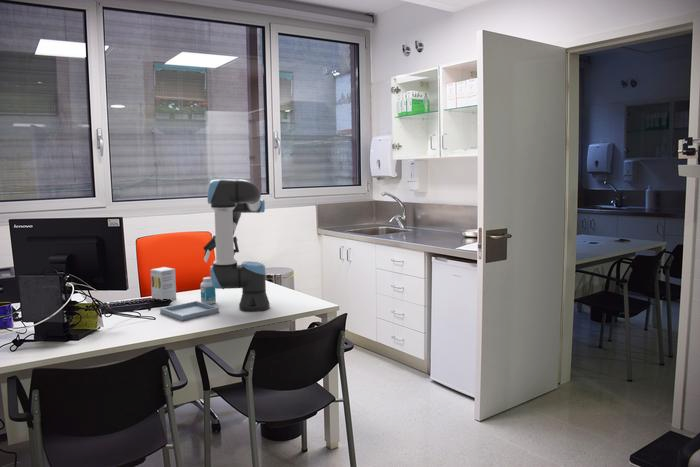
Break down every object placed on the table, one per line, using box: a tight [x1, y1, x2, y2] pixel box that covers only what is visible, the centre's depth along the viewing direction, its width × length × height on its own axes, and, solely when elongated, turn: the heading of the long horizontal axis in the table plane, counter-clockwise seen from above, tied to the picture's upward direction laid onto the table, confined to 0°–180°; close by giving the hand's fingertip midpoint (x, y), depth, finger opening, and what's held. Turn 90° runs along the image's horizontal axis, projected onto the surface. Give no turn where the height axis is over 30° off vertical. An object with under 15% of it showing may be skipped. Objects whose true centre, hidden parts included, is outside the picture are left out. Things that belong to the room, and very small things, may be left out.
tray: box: [159, 300, 220, 322], centre depth 264 cm, size 20×20×2 cm
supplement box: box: [150, 266, 177, 301], centre depth 289 cm, size 10×9×17 cm
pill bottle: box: [200, 276, 217, 305], centre depth 282 cm, size 8×7×14 cm
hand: (216, 261), depth 291 cm, fingers open, 13 cm apart
